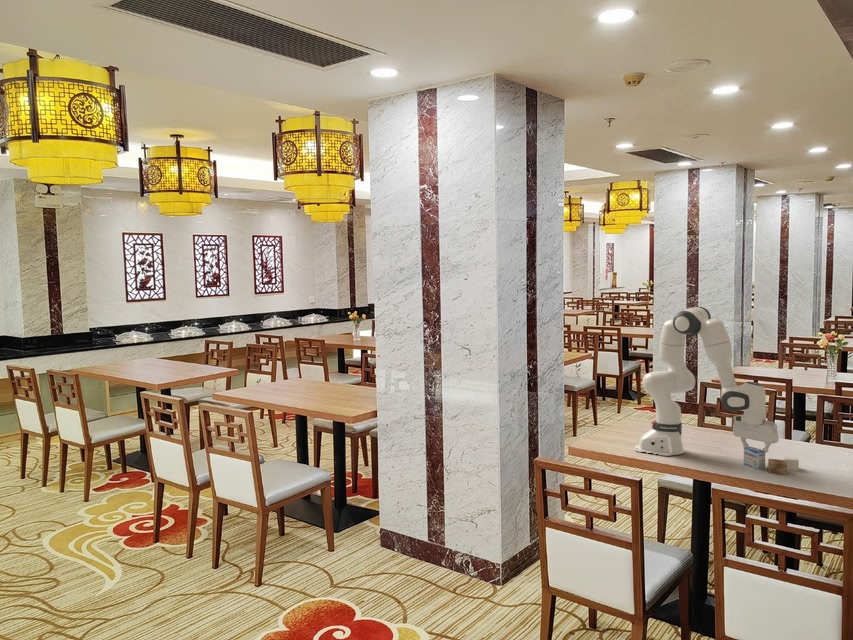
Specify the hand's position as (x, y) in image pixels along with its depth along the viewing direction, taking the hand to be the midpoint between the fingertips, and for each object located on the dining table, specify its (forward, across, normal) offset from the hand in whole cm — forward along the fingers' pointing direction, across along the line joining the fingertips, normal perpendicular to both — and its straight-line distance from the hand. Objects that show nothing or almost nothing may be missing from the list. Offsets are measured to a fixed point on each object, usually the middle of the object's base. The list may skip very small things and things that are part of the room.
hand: (755, 449), depth 294 cm
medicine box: (+8, +1, 0) cm, 9 cm away
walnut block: (+8, -9, -2) cm, 13 cm away
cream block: (+8, -9, -11) cm, 16 cm away
